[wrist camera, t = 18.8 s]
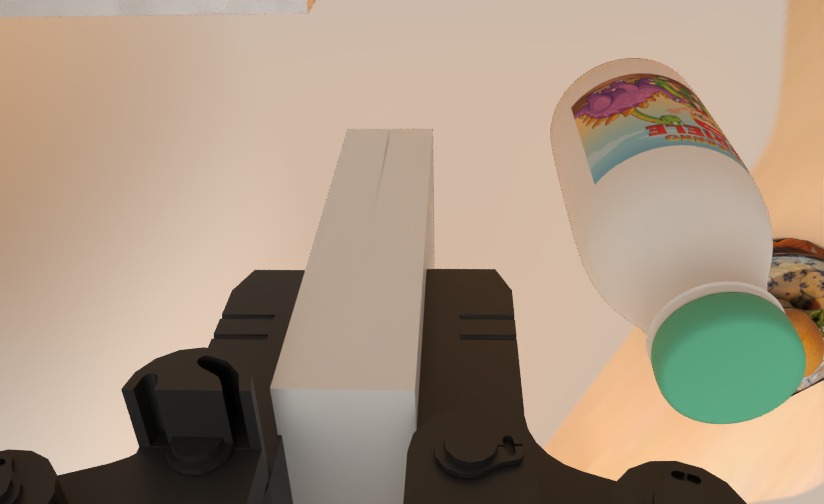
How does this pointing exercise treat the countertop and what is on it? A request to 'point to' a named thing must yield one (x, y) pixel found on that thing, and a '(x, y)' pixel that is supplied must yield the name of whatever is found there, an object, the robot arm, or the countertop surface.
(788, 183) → the countertop surface
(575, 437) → the countertop surface
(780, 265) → the burger
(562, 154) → the milk bottle
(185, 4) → the box
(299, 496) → the robot arm
